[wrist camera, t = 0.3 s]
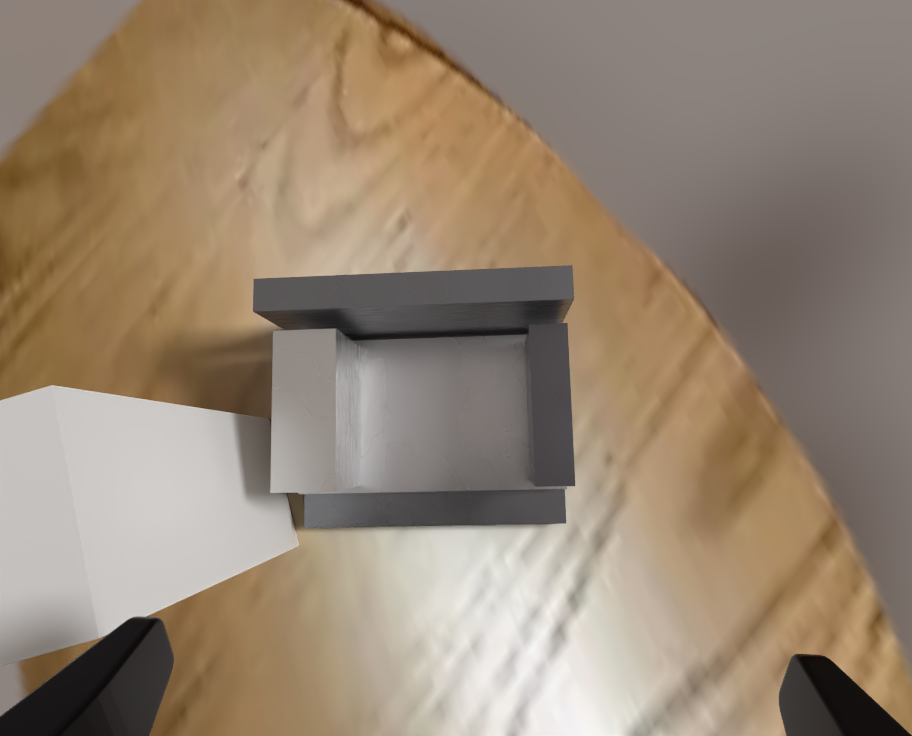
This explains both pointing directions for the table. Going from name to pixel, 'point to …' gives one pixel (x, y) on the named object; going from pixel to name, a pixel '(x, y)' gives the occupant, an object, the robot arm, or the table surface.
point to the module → (124, 511)
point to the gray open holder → (422, 396)
